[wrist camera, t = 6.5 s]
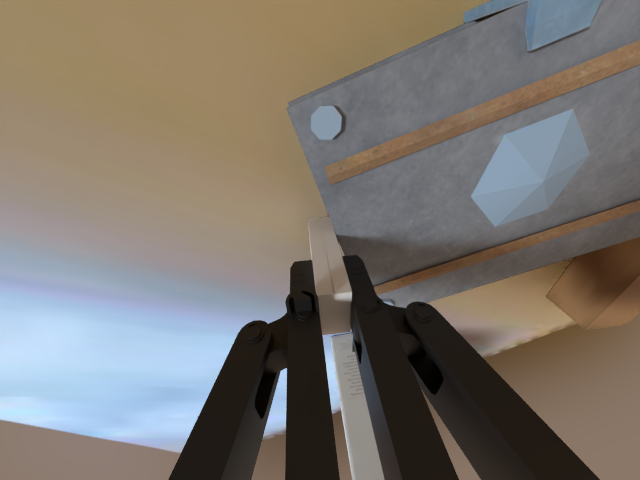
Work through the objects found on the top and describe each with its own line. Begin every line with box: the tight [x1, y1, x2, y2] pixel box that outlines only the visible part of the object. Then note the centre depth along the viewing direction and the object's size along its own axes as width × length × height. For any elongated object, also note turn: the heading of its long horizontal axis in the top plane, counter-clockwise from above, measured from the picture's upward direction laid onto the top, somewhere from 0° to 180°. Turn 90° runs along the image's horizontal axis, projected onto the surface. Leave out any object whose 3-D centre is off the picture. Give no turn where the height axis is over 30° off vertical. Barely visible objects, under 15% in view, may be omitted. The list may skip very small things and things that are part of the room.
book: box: [287, 0, 640, 308], centre depth 14 cm, size 21×16×5 cm
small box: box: [331, 333, 385, 480], centre depth 22 cm, size 8×6×13 cm
